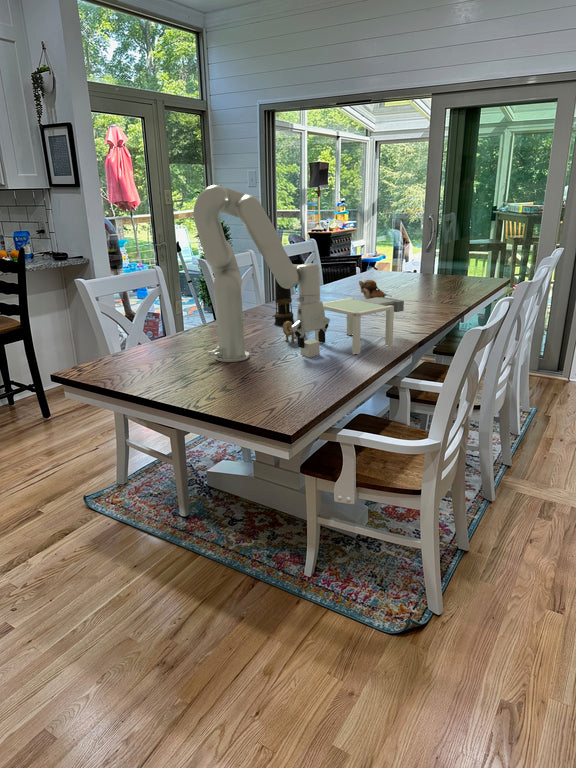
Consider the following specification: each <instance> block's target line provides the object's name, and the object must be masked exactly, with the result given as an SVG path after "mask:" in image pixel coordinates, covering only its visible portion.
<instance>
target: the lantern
mask: <svg viewBox="0 0 576 768" xmlns="http://www.w3.org/2000/svg"><path fill="white" fill-rule="evenodd" d="M291 291H292V290H291V288H290V289H285V288H283V287H281V286H280V285H279V284H278V282H277V280H276V279H275V300H274V302H275V314H274V315H272V316H271V317H272V318H274V320H275V321H274V326H277V327H278V326H279V327H283V324H284V323H285V322H286V321H290V322H292V325H294V324H295V321H294V313H293V308H292V307H293V306H292V301H293V299H292V295H291Z"/></svg>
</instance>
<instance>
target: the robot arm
mask: <svg viewBox="0 0 576 768" xmlns="http://www.w3.org/2000/svg"><path fill="white" fill-rule="evenodd" d="M220 213H223V214H225V215H230V216H232V217H235V218H239V219H240V221H241V223H242V224H243V226H244V228H245V229H246V231H247V233H248V235H250V238H251V240H252V242H253V243H254V245H255V247H256V248H257V250H258V252H259V254H260V255H261V256H262V257H263V259H264V261H265V263H266V265H267V266H268V268H269V270H270V272H271V273H272V275H273V276H274V280H275V281H276V280H277V282H278V284H279V285H280V286H281V287H283V288H285V289H290V290H291V289H292V288H295V287H296V286H297V285H298V297H297V298H296V300H297V302H298V303H297V304H298V305H297V312H296V313H297V315H296V322H294V324H293V326H291V329H292V331H293V333H294V336H296V337H297V338H296V339H297V340H296V341H297V346H298V348H300V349H301V348H305V343H304V341H305V338H303V336H304V334H306V333H311V332H315V330H320V331H318V338H319V342H322V343H323V344H326V332H327V329H328V328H329V325H330V322H331V319H330V318H329V317H326V313H325V309H324V307H323V303H324V302H323V301H322V300H321V285H320V284H321V283H320V280H321V279H320V267H319V264H317V263H314V262H312V263H307V262H306V263H303V264H294V263H292V261H291V259H290V257H289V255H288V253H287V252H286V249H285V248H284V246H283V244H282V241H281V238H280V236H279V233H278V232H277V230H276V228H275V226H274V225H273V223H272V222H271V221H272V220H270V218H269V216H268V215H267V213H266V211H265V209H264V207H263V206H262V204H261V202H260V200H259V199H258V198H257V197H255V196H254V195H251V194H248V193H244V192H243V193H242V192H240V191H238V190H234V189H231V188H228V187H225V186H224V185H223V186H222V185H218V184H212V185H210V186H209V185H208V186H207V187H205V188H204V189H203V190H202V192H201V193H200V194H199V196H198V197H197V198H196V200H195V202H194V205H193V219H194V220H193V221H194V224H195V228H196V230H197V234H198V238H199V242H200V245H201V247H202V250H203V253H204V254H203V255H204V259H205V260H206V263H207V264H208V265H209V266H210V267H211V270H212V273H213V277H214V281H213V297H214V304H215V305H214V306H215V316H216V329H217V330H216V331H217V341H218V345H217V346H216V347H215V349H213V350H208V351H206V355H207V357H208V358H209V357H212V356H213V357H214V358H215V360H216V361H218V362H223V363H236V362H241V361H245V360H248V359H249V357H250V352H248V351H246V348H245V331H244V315H243V314H244V313H243V298H242V296H243V295H242V286H243V285H242V283H243V279H242V275H241V271H240V268H239V266H238V262H237V258H236V256H235V252H234V250H233V247H232V245H231V243H230V242H229V241H227V238H226V236H225V234H224V233H225V232H224V229H223V226H222V222H221V219H220ZM297 327H298V331H297ZM301 331H302V332H301ZM322 343H321V344H322Z"/></svg>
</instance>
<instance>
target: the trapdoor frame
mask: <svg viewBox="0 0 576 768" xmlns="http://www.w3.org/2000/svg"><path fill="white" fill-rule="evenodd" d="M348 299H354V300H355V298H354V297H347V298H342V299H337V300H331V301H330V300H329V301H324V302H322V303H323V307H324V311H325V310H326V311H329V312H335V313H339V314H343V315H346V335H347V334H348V335H352V334H353V336H352V353H354V354H359V353H360V354H361V334H362V333H361V332H362V331H361V330H362V329H361V327H362V326H361V322H362V321H361V320H362V319H361V318H362V317H364V316H368V315H373V314H377V313H381V312H385V336H384V337H385V338H384V339H385V340H384V346H385V345H388V346H390V347H392V346H391V345H394V314H395V312H394V306H391V305H389V306H384V307H379V308H374V309H369V310H364V311H359V312H355V311H351V310H346V309H342V308H337V307H333V306H328V305H324V304H326V303H332V302H337V301H343V300H348ZM318 331H320V330H315V331H314V340H315V341H318V342H319V338H318ZM348 335H347V336H348ZM388 346H387V347H388ZM352 353H351V354H352ZM354 354H353V355H354ZM360 354H359V355H360Z"/></svg>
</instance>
